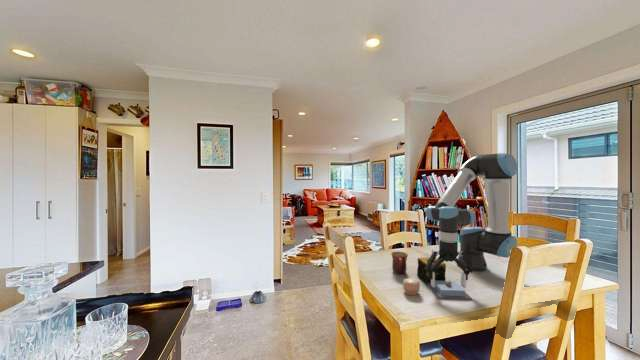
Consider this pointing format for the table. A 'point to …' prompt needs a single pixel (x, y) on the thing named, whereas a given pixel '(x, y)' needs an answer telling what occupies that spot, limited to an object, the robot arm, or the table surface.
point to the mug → (399, 262)
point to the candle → (425, 274)
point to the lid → (449, 288)
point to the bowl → (411, 286)
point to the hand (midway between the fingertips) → (448, 286)
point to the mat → (448, 296)
